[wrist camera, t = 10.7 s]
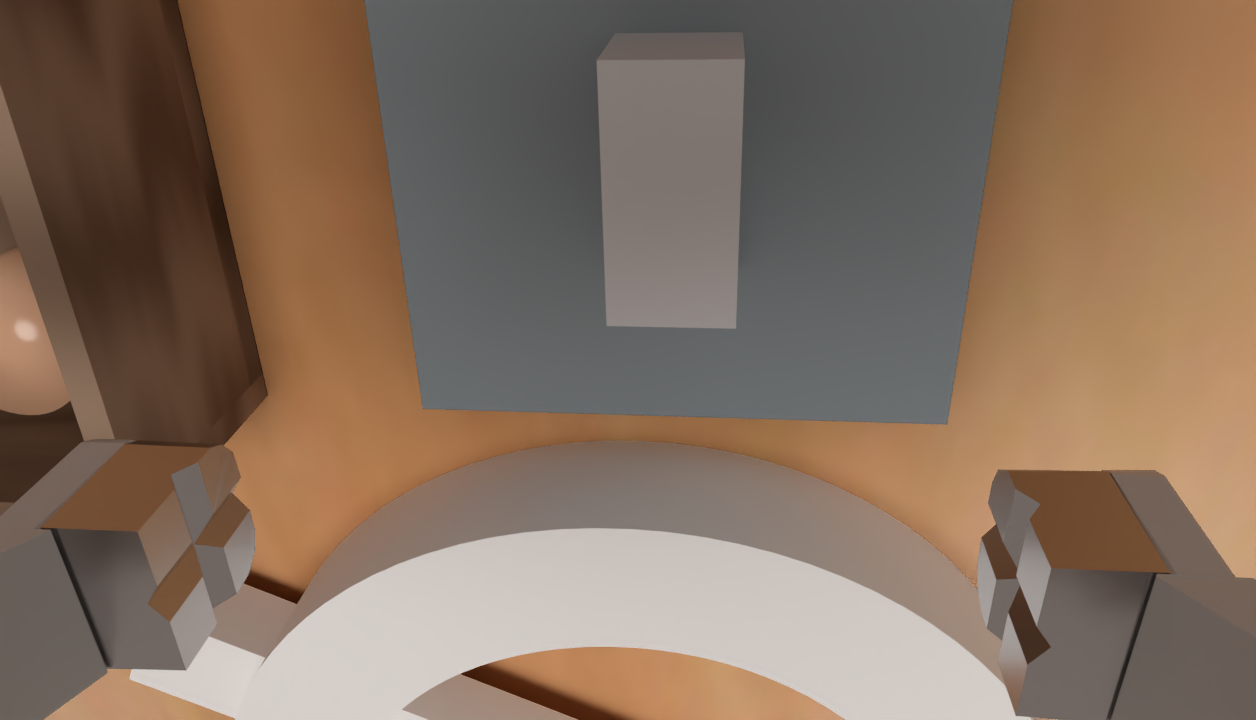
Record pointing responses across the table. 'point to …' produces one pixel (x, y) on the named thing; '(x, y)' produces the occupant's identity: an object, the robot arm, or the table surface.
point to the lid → (689, 200)
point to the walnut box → (118, 233)
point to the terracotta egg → (25, 346)
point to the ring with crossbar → (607, 594)
